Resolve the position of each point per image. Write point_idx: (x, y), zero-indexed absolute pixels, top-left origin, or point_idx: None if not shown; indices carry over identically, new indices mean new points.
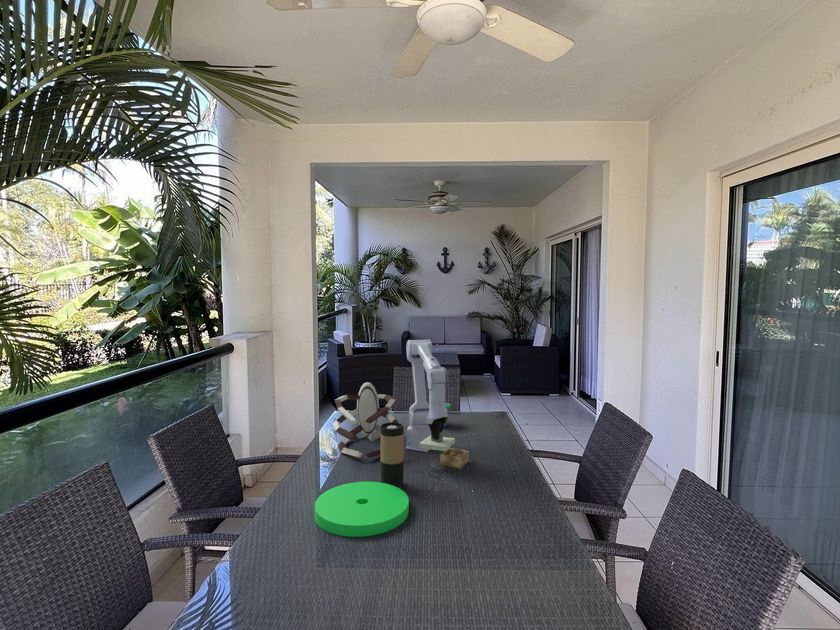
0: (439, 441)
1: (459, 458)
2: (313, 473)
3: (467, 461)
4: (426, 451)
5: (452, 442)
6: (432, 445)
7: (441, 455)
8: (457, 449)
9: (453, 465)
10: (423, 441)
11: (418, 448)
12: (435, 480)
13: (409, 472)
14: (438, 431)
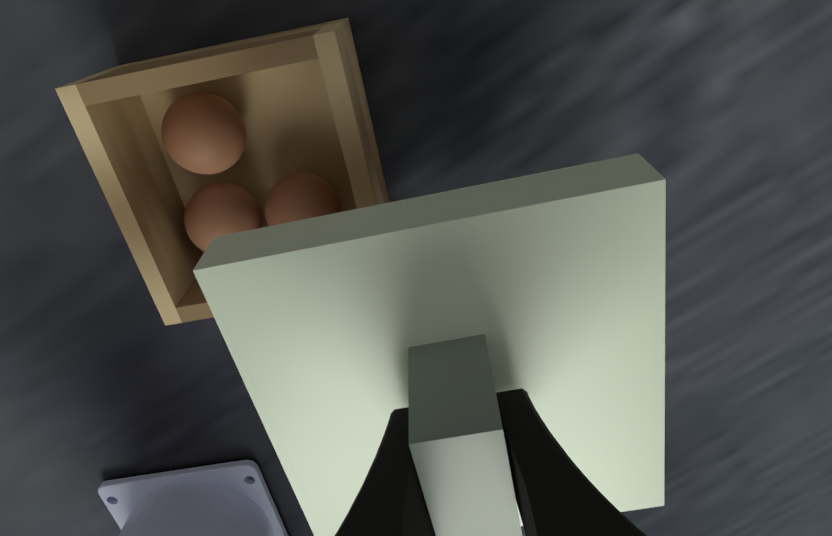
0: (490, 359)
1: (339, 46)
2: None
3: (141, 61)
4: (249, 463)
5: (308, 232)
6: (661, 353)
7: None
8: (131, 224)
9: (366, 105)
10: None
11: (267, 524)
12: (743, 64)
13: (680, 335)
14: (591, 484)
